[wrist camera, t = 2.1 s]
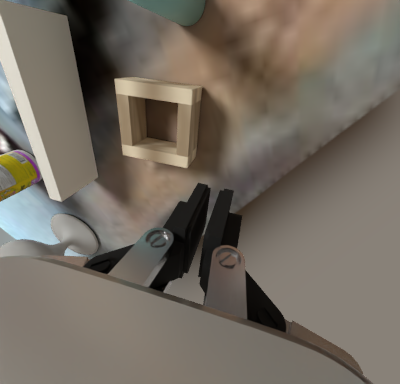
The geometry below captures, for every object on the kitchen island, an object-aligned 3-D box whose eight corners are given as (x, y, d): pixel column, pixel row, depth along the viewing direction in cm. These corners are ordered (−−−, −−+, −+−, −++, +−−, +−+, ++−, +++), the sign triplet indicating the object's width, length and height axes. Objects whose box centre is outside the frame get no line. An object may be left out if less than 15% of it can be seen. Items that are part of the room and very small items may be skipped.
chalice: (90, 211, 42) (17, 272, 30) (111, 259, 49) (59, 325, 37) (38, 206, 46) (-46, 258, 34) (64, 251, 53) (3, 309, 40)
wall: (66, 15, 25) (-5, -2, 18) (98, 177, 37) (61, 201, 30) (52, 14, 25) (-23, -4, 19) (88, 174, 37) (50, 198, 30)
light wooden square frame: (202, 86, 25) (192, 89, 21) (195, 156, 30) (187, 168, 26) (133, 76, 26) (114, 78, 23) (138, 145, 31) (123, 154, 28)
